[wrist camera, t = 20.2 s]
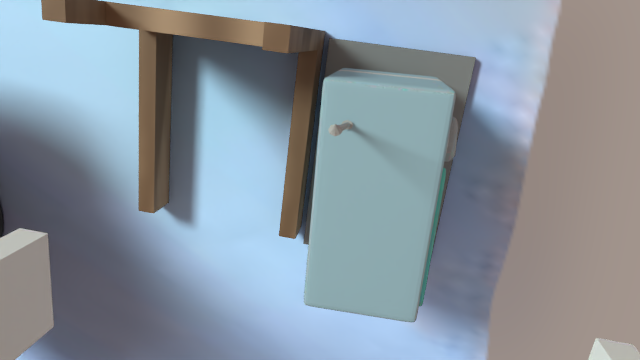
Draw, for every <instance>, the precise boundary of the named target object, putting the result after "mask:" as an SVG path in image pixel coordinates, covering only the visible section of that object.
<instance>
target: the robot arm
mask: <svg viewBox="0 0 640 360" xmlns="http://www.w3.org/2000/svg"><path fill="white" fill-rule="evenodd" d="M2 232H3V216H2V210H1V206H0V360H15V359H16V358H17V357H19V356H20V355H21V354H22V353H23V352H25V351H26V350H27V349H28V348H29V347H30V346H32V345H33V344H34V343H35V342H36V341H38V340H39V339H40V338H41V337H42V336H43V335H45V334H46V333H47V332H48V331H49V330H51V329H52V328H53V327H54V322H53V306H52V291H51V275H50V260H49V244H48V233H43V232H38V231H32V230H27V229H22V228H19V229H17V230H15V231H13V232H11V233H9V234H7V235H5V236H3V237H2ZM588 360H640V353H639V352H638V351H637V349H636V348H635V347H634V346H633V345H632V344H626V343H621V342H616V341H611V340H606V339H600V338H596V340H595V343H594V345H593V348H592V351H591V353H590V356H589V359H588Z"/></svg>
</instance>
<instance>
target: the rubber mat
mask: <svg viewBox="0 0 640 360" xmlns="http://www.w3.org/2000/svg"><path fill="white" fill-rule="evenodd" d="M475 59H476V58H475V57H468V56H461V55H453V54H446V53H438V52H431V51H423V50H416V49H408V48H401V47H393V46H385V45H378V44H370V43H363V42H355V41H348V40H340V39H333V38H329V45H328V53H327V61H326V69H325V77H324V79H325V78H326V77H328V76H329V75H331V74H333V73H335V72H337V71H339V70H340V69H342V68H352V69H362V70H372V71H382V72H392V73H402V74H412V75H422V76H431V77H436V78H438V79H439V80H441V81H442V82H443V83H445V84H446V85H447V86H449V87H450V88H451V89H453V90H454V91H455V93H456V99H455V105H454V110H453V116H452V117H455V118H456V120H457V123H458V133H457V139H458V135H459V131H460V126H461V122H462V117H463V113H464V108H465V104H466V99H467V95H468V90H469V86H470V81H471V77H472V72H473V68H474V63H475ZM320 111H321V108H320ZM319 122H320V116H319ZM318 133H319V124H318V132H317V140H316V148H315V156H314V164H313V172H312V180H311V188H310V196H309V204H308V212H307V219H306V227H305V235H304V243H303V244H308V245H309V234H310V223H311V212H312V201H313V189H314V178H315V167H316V156H317V144H318ZM456 144H457V142H456ZM452 162H453V158H452V159H451V160H450V161H449V162H444V167H443V168H445V169H446V177H445V183H444V189H443V194H442V200H441V205H440V211H439V216H438V222H437V227H436V233H437V229H438V224H439V220H440V215H441V211H442V207H443V202H444V198H445V193H446V189H447V184H448V180H449V175H450V171H451V166H452ZM436 233H435V238H436ZM434 242H435V239H434ZM433 247H434V244H433ZM432 251H433V250H432ZM431 256H432V255H431Z"/></svg>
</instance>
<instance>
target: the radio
mask: <svg viewBox="0 0 640 360" xmlns="http://www.w3.org/2000/svg"><path fill="white" fill-rule="evenodd" d="M455 99H456V93H455V91H454V90H453V89H451V88H450V87H449V86H447V85H446V84H445V83H443V82H442V81H441V80H439V79H438V78H436V77H431V76H422V75H412V74H402V73H392V72H382V71H372V70H362V69H352V68H342V69H340V70H339V71H337V72H335V73H333V74H331V75H329V76H328V77H326V78H325V79H324V81H323V88H322V99H321V111H320V122H319V133H318V144H317V156H316V167H315V178H314V189H313V201H312V212H311V223H310V234H309V246H308V257H307V268H306V280H305V291H304V303H305V305H308V306H313V307H318V308H324V309H331V310H337V311H343V312H349V313H355V314H362V315H368V316H374V317H380V318H386V319H392V320H399V321H405V322H415V320H416V317H417V313H418V308H419V306H422V303H423V299H424V294H425V290H426V284H427V279H428V272H429V266H430V261H431V255H432V250H433V244H434V239H435V233H436V227H437V222H438V216H439V211H440V205H441V200H442V194H443V189H444V183H445V177H446V169H445V168H443V167H444V162H449V161H450V160H451V159H452V158H453V157H454V156H455V152H456V142H457V133H458V123H457V120H456V118H455V117H452V116H453V110H454V105H455Z"/></svg>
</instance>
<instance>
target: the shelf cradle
mask: <svg viewBox="0 0 640 360" xmlns="http://www.w3.org/2000/svg"><path fill="white" fill-rule="evenodd" d="M41 2H42V19H43V20H49V21H57V22H64V23H78V24H95V25H108V26H116V27H123V28H130V29H138V30H139V211H144V212H149V213H155V212H156V211H158V210H159V209H161V208H162V207H163V206H165V205H166V204H167V203H169V168H170V128H171V87H172V47H173V34H174V35H181V36H189V37H196V38H203V39H210V40H218V41H225V42H232V43H240V44H247V45H254V46H261V47H262V50H267V51H274V52H281V53H296V52H299V53H298V63H297V72H296V81H295V91H294V100H293V109H292V119H291V128H290V137H289V147H288V156H287V165H286V175H285V184H284V193H283V203H282V212H281V221H280V231H279V236H282V237H288V238H293V239H295V238H296V236H297V234H298V232H299V230H300V228H301V224H302V216H303V208H304V200H305V192H306V184H307V175H308V167H309V159H310V151H311V143H312V135H313V127H314V118H315V110H316V102H317V94H318V86H319V78H320V70H321V61H322V53H323V45H324V37H325V31H321V30H315V29H309V28H303V27H297V26H291V25H284V24H276V23H269V22H257V21H250V20H242V19H235V18H227V17H219V16H212V15H204V14H197V13H189V12H181V11H174V10H166V9H159V8H151V7H143V6H136V5H128V4H120V3H113V2H105V1H98V0H41Z"/></svg>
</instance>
